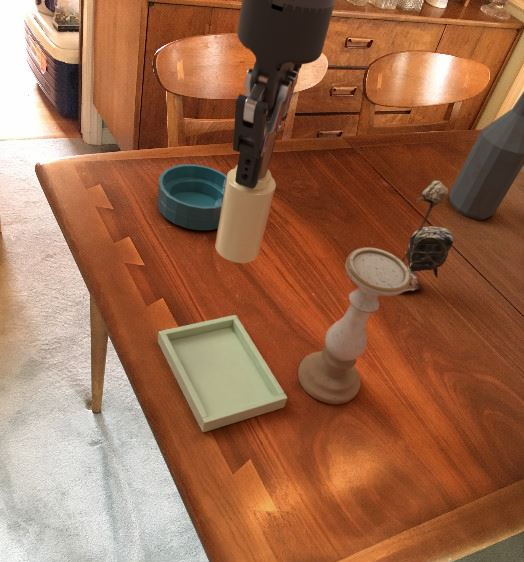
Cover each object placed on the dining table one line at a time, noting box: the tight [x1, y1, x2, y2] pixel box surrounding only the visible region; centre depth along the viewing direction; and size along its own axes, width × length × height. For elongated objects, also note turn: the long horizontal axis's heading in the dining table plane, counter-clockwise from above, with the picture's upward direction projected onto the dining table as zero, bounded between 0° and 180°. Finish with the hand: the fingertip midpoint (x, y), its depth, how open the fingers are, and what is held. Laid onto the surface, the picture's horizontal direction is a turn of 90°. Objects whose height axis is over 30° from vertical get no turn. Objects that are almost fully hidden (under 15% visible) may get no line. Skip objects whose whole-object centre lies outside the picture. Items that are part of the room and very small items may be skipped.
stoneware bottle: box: [214, 130, 277, 264], centre depth 59 cm, size 5×5×14 cm
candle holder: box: [297, 246, 410, 405], centre depth 70 cm, size 9×9×20 cm
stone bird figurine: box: [401, 179, 457, 292], centre depth 89 cm, size 8×11×20 cm
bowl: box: [156, 163, 227, 231], centre depth 96 cm, size 13×13×5 cm
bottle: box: [448, 91, 524, 221], centre depth 108 cm, size 10×10×30 cm
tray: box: [157, 314, 288, 433], centre depth 73 cm, size 16×12×2 cm
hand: (252, 174), depth 57 cm, fingers closed on stoneware bottle, 4 cm apart
